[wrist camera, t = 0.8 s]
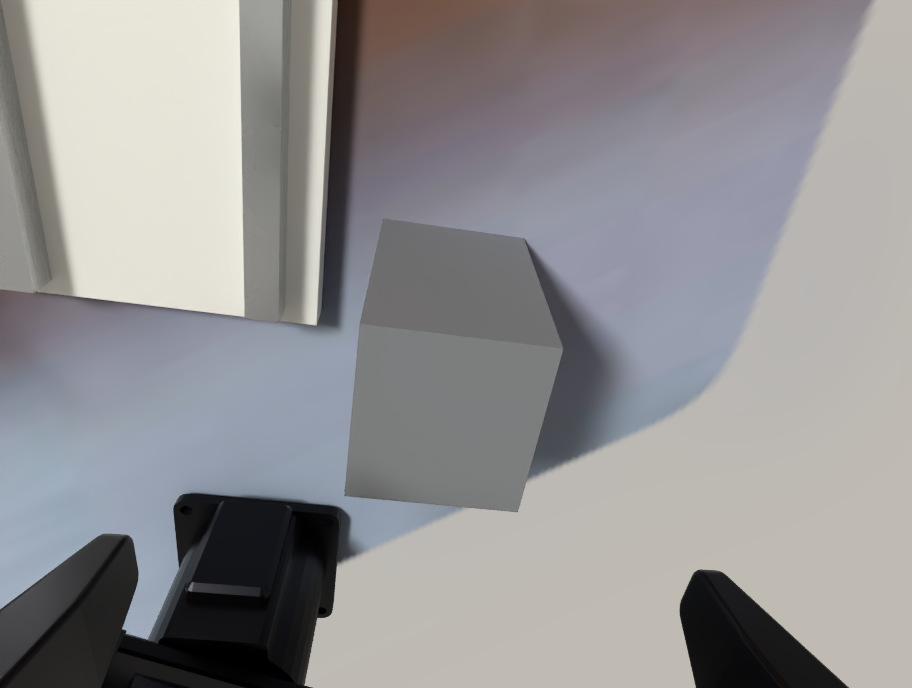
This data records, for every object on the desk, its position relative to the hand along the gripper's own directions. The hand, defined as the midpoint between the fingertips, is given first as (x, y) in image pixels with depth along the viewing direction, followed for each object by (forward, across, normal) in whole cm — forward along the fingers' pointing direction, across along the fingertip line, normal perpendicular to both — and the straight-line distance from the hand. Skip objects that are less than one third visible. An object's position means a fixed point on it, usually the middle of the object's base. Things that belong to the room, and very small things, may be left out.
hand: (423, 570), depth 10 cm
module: (+12, -1, +1) cm, 12 cm away
